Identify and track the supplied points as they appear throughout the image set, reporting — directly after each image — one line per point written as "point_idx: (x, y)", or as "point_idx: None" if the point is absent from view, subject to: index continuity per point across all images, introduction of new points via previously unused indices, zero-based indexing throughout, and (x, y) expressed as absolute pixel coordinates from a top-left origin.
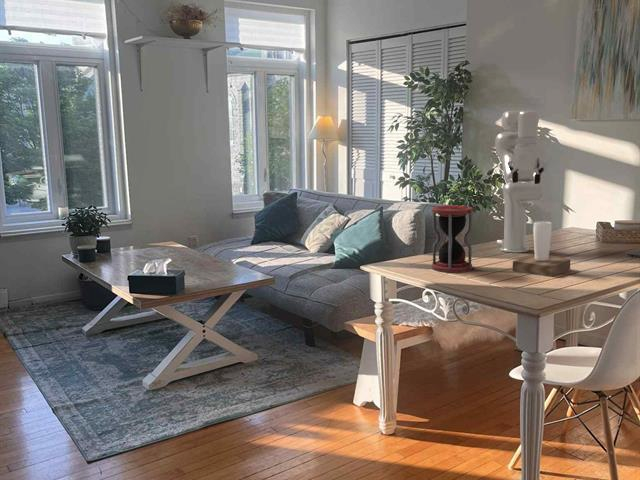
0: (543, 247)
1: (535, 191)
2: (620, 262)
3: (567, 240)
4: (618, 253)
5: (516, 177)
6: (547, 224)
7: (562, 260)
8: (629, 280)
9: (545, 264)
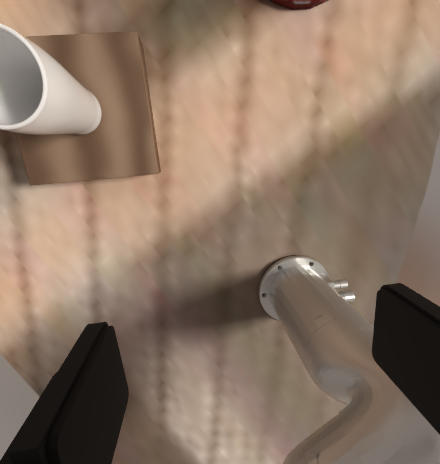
0: (32, 77)
1: None
2: (25, 338)
3: (259, 448)
4: None
5: (419, 370)
6: None
7: (36, 155)
8: None
9: None
